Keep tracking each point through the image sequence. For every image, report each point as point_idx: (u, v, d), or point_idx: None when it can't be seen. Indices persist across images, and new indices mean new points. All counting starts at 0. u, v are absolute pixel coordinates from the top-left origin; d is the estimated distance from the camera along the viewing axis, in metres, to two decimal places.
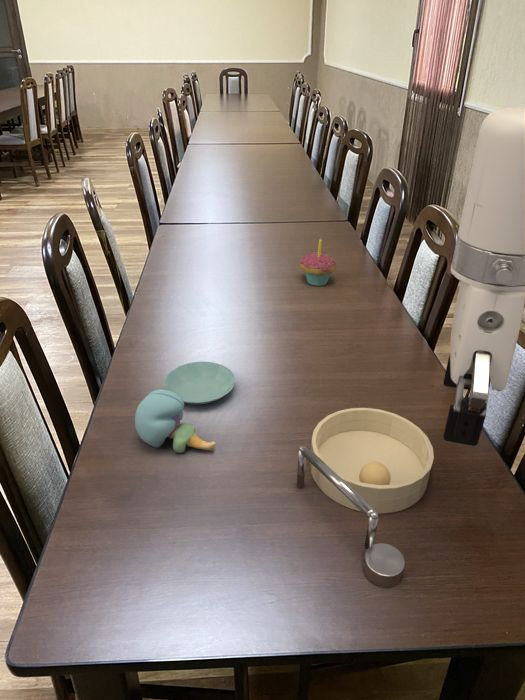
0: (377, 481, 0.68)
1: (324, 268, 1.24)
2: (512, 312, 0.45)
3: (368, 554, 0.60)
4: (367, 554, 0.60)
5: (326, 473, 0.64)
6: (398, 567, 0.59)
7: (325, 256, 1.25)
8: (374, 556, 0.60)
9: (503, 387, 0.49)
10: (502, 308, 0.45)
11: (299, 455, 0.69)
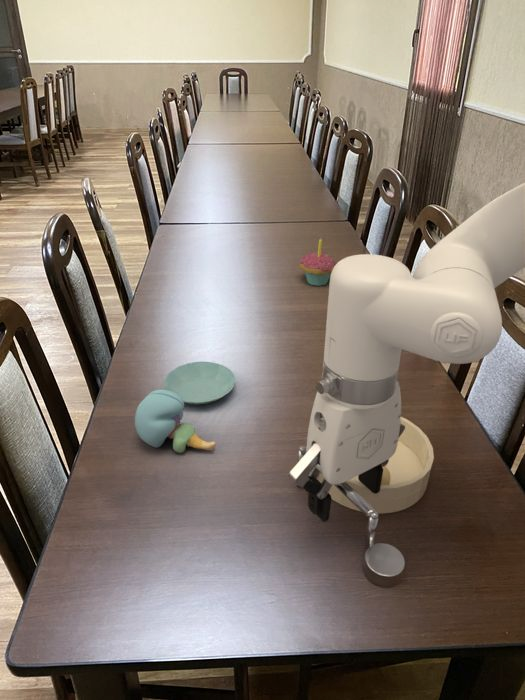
0: None
1: (324, 268, 1.24)
2: (331, 421, 0.53)
3: (368, 554, 0.60)
4: (367, 554, 0.60)
5: None
6: (398, 567, 0.59)
7: (325, 256, 1.25)
8: (374, 556, 0.60)
9: (331, 481, 0.56)
10: (325, 414, 0.54)
11: (299, 455, 0.69)
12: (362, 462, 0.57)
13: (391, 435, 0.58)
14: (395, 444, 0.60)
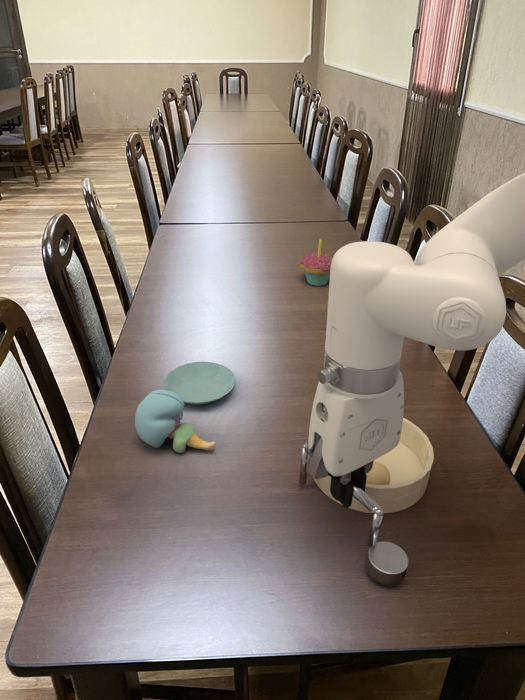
0: (377, 481, 0.68)
1: (324, 268, 1.24)
2: (333, 411, 0.52)
3: (371, 552, 0.60)
4: (370, 552, 0.60)
5: None
6: (401, 565, 0.59)
7: (325, 256, 1.25)
8: (378, 554, 0.60)
9: (333, 473, 0.55)
10: (327, 404, 0.53)
11: (303, 452, 0.68)
12: (365, 453, 0.57)
13: (394, 426, 0.58)
14: (398, 435, 0.59)
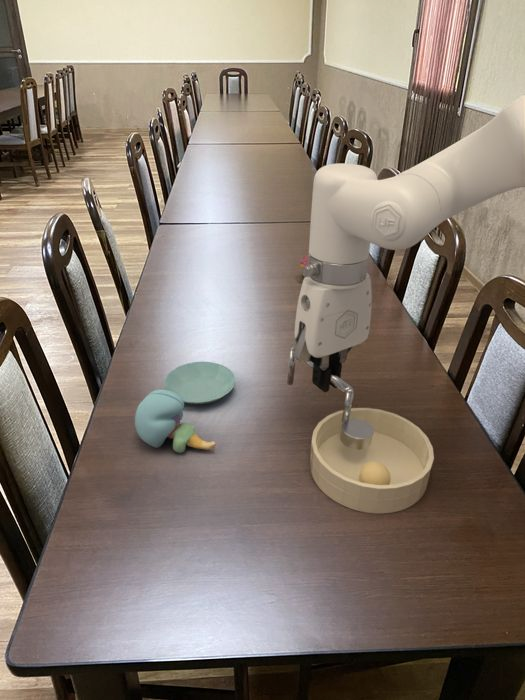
0: (377, 481, 0.68)
1: None
2: (314, 299, 0.67)
3: (344, 425, 0.74)
4: (343, 425, 0.74)
5: (312, 364, 0.78)
6: (368, 433, 0.73)
7: None
8: (349, 426, 0.74)
9: (314, 354, 0.70)
10: (309, 294, 0.67)
11: (290, 354, 0.83)
12: (339, 340, 0.71)
13: (363, 320, 0.72)
14: (367, 330, 0.73)
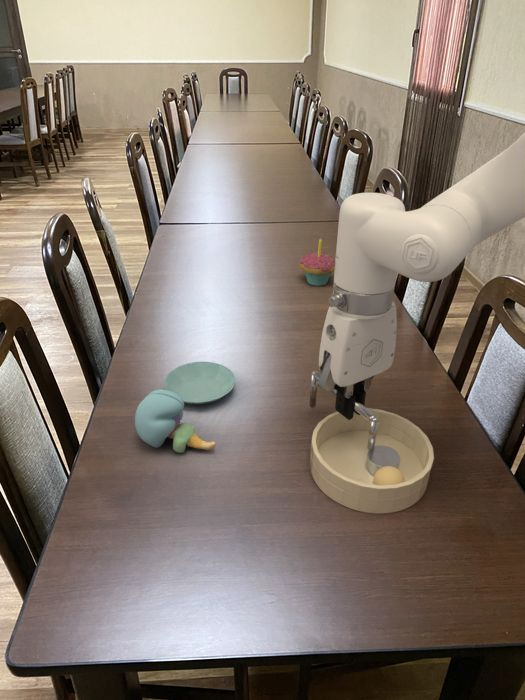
0: None
1: (324, 268, 1.24)
2: (340, 329, 0.66)
3: (370, 453, 0.74)
4: (369, 453, 0.74)
5: (335, 390, 0.77)
6: (394, 461, 0.72)
7: (325, 256, 1.25)
8: (375, 454, 0.74)
9: (339, 383, 0.69)
10: (335, 324, 0.66)
11: (312, 379, 0.82)
12: (365, 369, 0.70)
13: (388, 348, 0.71)
14: (392, 357, 0.72)
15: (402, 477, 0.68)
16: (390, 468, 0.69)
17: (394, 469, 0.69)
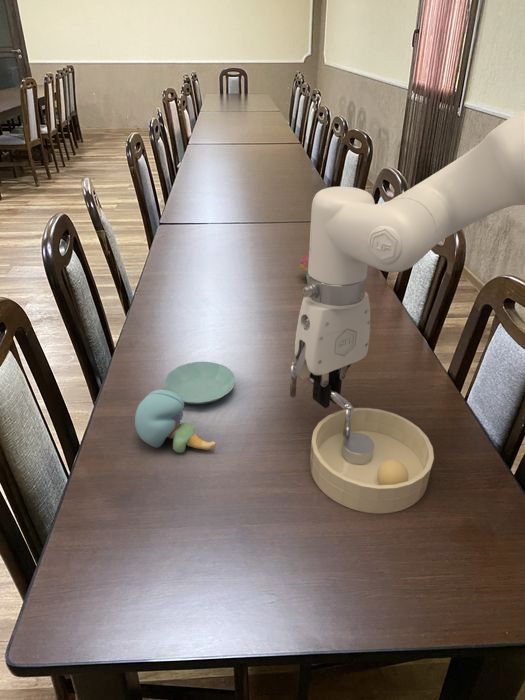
0: (389, 474, 0.69)
1: None
2: (313, 319, 0.68)
3: (345, 440, 0.76)
4: (344, 440, 0.76)
5: (312, 380, 0.80)
6: (368, 448, 0.75)
7: None
8: (350, 441, 0.76)
9: (314, 371, 0.71)
10: (309, 314, 0.68)
11: (291, 369, 0.84)
12: (339, 358, 0.72)
13: (362, 338, 0.73)
14: (366, 347, 0.75)
15: None
16: None
17: (399, 462, 0.71)
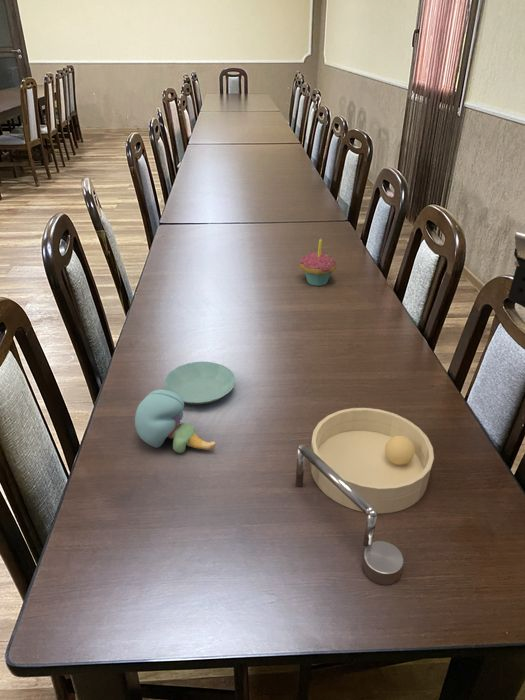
0: None
1: (324, 268, 1.24)
2: None
3: (367, 552, 0.61)
4: (366, 552, 0.61)
5: (325, 472, 0.65)
6: (396, 564, 0.59)
7: (325, 256, 1.25)
8: (373, 554, 0.61)
9: None
10: None
11: (298, 454, 0.69)
12: None
13: None
14: None
15: (409, 460, 0.74)
16: None
17: None
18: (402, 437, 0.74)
